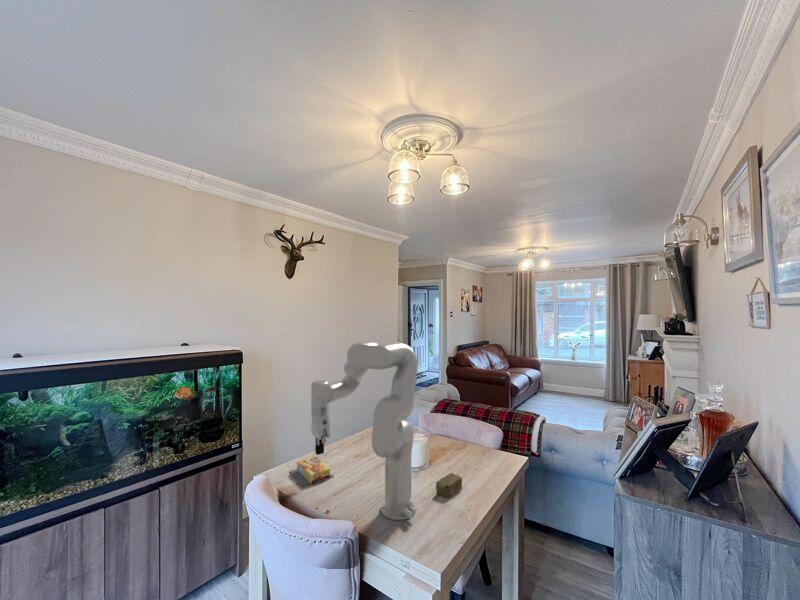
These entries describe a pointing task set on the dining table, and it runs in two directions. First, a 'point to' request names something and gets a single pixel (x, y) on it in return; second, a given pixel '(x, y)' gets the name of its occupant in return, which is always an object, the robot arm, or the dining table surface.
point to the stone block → (448, 485)
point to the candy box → (313, 470)
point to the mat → (301, 479)
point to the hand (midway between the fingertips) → (319, 453)
